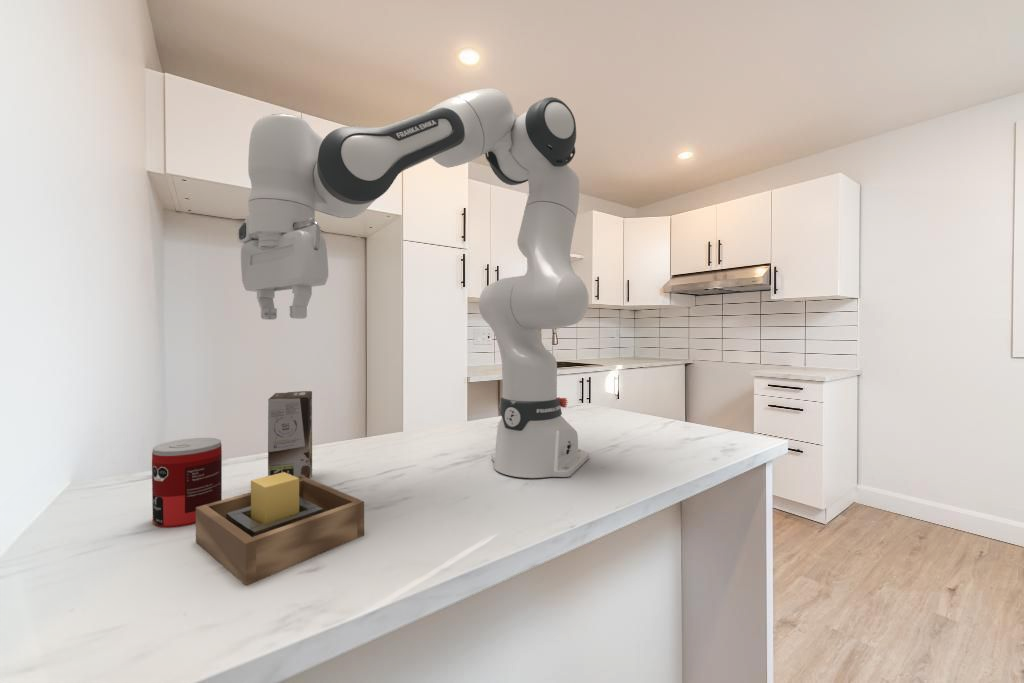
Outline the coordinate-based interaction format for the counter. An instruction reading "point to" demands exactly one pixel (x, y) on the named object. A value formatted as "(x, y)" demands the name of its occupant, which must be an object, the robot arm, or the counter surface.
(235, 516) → the socket
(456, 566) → the counter surface
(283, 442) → the coffee box
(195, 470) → the canned food
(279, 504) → the plug
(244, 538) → the walled box
